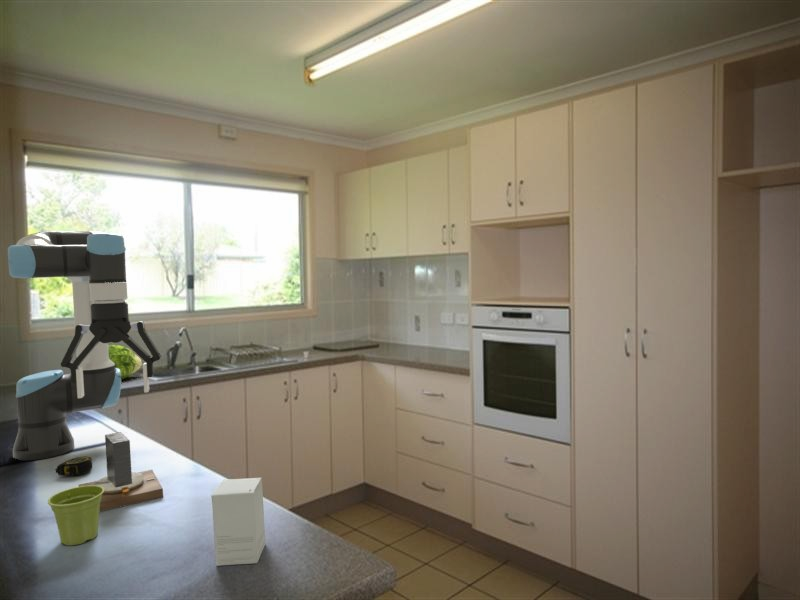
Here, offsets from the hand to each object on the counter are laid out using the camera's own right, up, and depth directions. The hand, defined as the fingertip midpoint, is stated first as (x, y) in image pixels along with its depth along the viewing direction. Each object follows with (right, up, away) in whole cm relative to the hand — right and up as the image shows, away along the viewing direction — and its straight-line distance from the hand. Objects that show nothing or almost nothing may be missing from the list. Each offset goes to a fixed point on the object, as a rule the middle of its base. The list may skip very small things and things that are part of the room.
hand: (114, 394), depth 125 cm
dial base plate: (+1, -24, +1) cm, 24 cm away
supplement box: (+37, -24, -28) cm, 52 cm away
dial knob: (+1, -21, 0) cm, 21 cm away
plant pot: (+4, -25, -20) cm, 32 cm away
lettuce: (-77, -19, +150) cm, 169 cm away
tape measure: (-19, -24, +16) cm, 34 cm away
